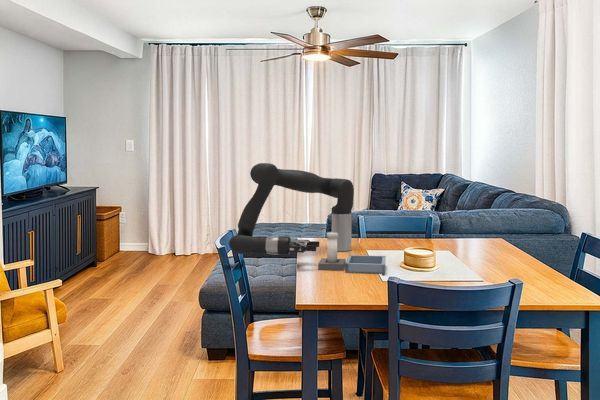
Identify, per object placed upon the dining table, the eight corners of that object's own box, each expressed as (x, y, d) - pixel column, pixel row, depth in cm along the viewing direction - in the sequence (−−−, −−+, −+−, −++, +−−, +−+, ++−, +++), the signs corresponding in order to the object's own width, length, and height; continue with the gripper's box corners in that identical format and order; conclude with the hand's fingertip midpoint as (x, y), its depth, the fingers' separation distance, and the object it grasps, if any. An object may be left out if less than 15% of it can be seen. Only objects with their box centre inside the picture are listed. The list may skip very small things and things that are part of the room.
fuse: (327, 265, 233) (327, 231, 231) (338, 266, 232) (338, 232, 230) (326, 268, 229) (326, 233, 227) (337, 268, 228) (337, 234, 226)
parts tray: (348, 264, 237) (348, 254, 237) (385, 265, 235) (385, 255, 234) (345, 273, 222) (345, 263, 221) (384, 275, 219) (384, 264, 219)
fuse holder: (321, 265, 236) (321, 258, 236) (345, 266, 234) (345, 258, 234) (318, 271, 226) (318, 263, 226) (343, 271, 225) (343, 264, 224)
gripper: (274, 239, 226) (315, 240, 223) (281, 233, 240) (320, 234, 237) (274, 258, 227) (315, 259, 224) (282, 250, 241) (320, 251, 238)
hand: (317, 246), depth 230 cm, fingers open, 8 cm apart
